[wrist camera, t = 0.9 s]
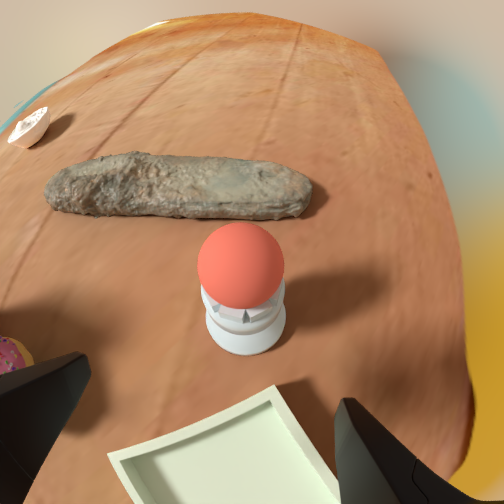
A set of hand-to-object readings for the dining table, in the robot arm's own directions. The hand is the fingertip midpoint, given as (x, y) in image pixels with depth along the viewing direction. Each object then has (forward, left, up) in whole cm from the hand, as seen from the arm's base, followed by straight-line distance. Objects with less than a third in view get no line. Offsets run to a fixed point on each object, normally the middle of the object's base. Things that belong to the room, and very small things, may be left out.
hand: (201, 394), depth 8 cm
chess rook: (+6, -4, -13) cm, 15 cm away
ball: (+6, -4, -4) cm, 8 cm away
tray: (-7, +4, -13) cm, 16 cm away
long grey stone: (+23, -2, -14) cm, 27 cm away
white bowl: (+59, +19, -13) cm, 63 cm away
